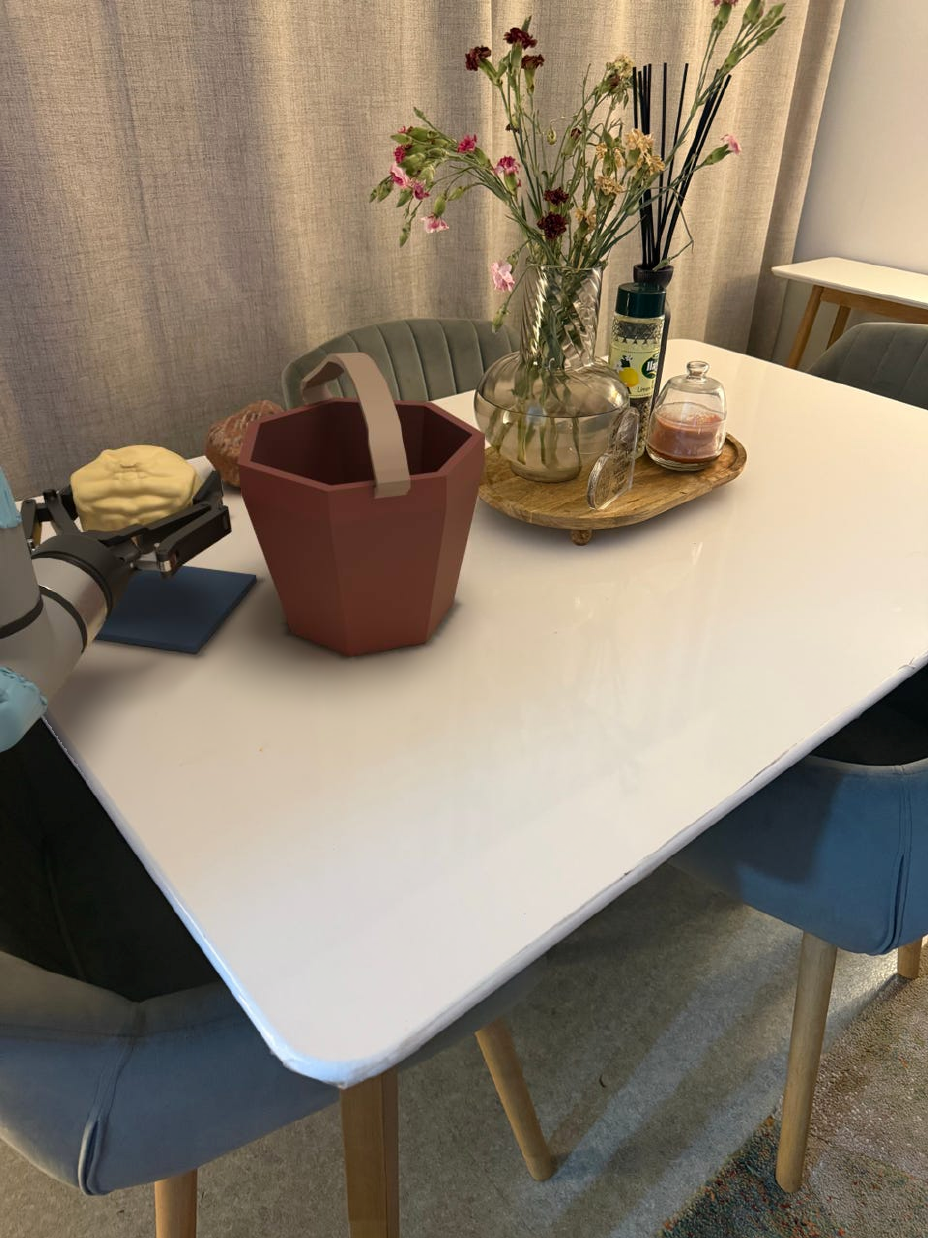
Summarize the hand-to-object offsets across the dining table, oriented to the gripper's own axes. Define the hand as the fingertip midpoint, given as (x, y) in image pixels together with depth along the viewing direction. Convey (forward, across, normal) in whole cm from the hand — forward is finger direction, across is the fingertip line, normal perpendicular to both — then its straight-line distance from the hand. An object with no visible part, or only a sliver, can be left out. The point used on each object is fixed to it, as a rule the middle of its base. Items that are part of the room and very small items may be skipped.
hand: (156, 480), depth 88 cm
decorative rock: (+28, +2, -13) cm, 31 cm away
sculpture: (-4, 0, -6) cm, 7 cm away
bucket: (-3, +22, -12) cm, 25 cm away
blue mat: (-4, 0, -12) cm, 13 cm away
